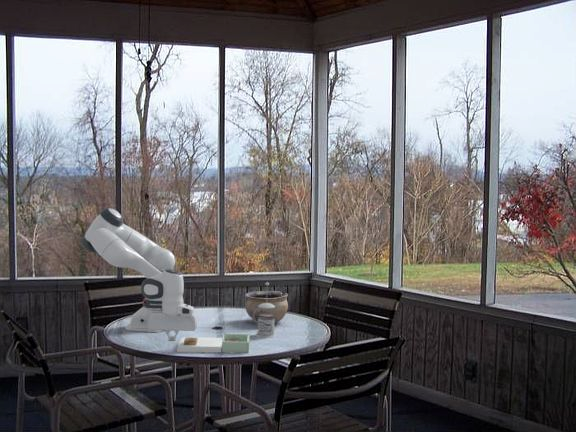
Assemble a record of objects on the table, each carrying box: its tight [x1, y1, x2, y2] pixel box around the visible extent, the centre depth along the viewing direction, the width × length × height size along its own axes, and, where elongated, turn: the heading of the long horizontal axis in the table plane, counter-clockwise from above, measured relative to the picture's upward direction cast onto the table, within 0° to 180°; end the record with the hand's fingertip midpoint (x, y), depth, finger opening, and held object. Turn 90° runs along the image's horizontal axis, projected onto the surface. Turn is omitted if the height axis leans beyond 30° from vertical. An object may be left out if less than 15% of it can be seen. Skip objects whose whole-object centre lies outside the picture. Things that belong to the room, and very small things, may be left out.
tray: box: [221, 333, 251, 354], centre depth 277 cm, size 11×15×4 cm
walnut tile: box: [227, 339, 239, 342], centre depth 280 cm, size 5×5×2 cm
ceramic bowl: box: [245, 290, 289, 324], centre depth 330 cm, size 22×22×15 cm
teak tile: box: [184, 338, 197, 345], centre depth 272 cm, size 5×5×2 cm
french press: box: [252, 282, 277, 339], centre depth 301 cm, size 10×12×25 cm
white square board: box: [176, 336, 224, 353], centre depth 276 cm, size 18×16×2 cm
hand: (172, 340), depth 272 cm, fingers closed
